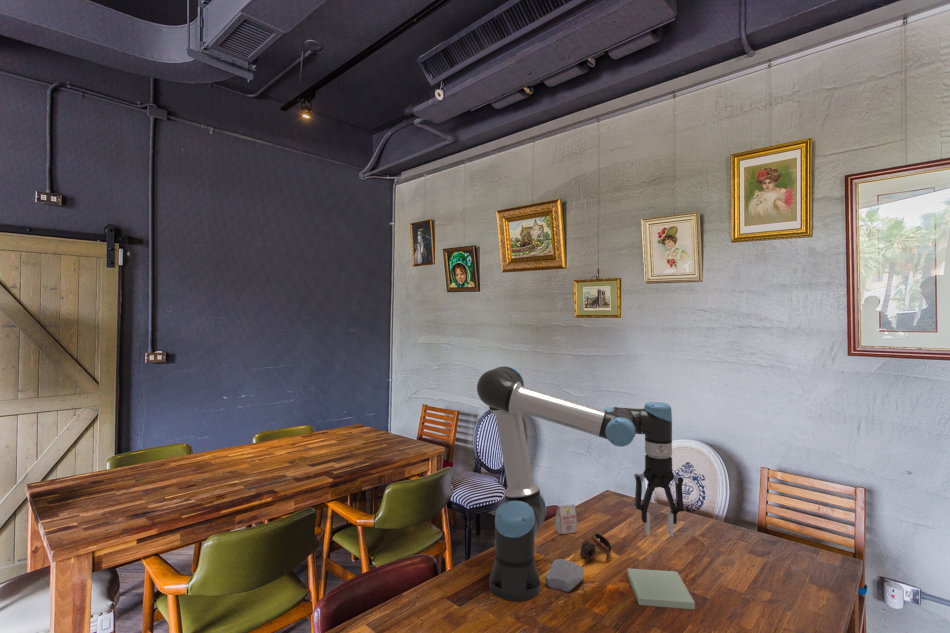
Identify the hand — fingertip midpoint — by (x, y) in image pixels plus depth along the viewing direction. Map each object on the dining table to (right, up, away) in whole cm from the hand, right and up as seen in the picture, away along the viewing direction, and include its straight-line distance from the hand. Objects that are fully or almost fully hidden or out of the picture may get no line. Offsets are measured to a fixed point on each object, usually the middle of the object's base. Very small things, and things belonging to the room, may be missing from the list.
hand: (658, 533), depth 138 cm
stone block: (-22, -16, +2) cm, 28 cm away
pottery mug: (-16, -18, +19) cm, 31 cm away
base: (0, -17, 0) cm, 17 cm away
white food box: (-20, -18, +39) cm, 47 cm away
